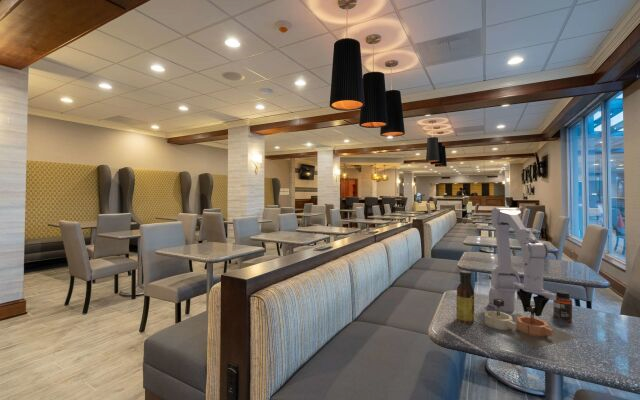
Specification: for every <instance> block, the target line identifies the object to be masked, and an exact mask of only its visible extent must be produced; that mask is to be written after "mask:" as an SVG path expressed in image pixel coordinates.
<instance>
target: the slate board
mask: <svg viewBox="0 0 640 400" xmlns="http://www.w3.org/2000/svg"><path fill="white" fill-rule="evenodd" d="M510 315H511V316H512V319H513V322H514V323H516V330H513V329H509V330H501V329H496V328H492V327H490V326H488V325H486V324H485V320H484V319H481V320H480V319H479V320H477V322H478V323H480V324H482V325H484V326H485V327H488V328H491V329H492V330H494V331H496V332H499V333H500V334H502V335H505V336H507V337H509V338H511V339H513V340H515V341H517V342H519V343H521V344H523V345H525V346H527V347H529V348H531V349H537V348H540V347H544V346H546V347H547V346H549V345H553V344H558V343H562V342H566V341H570V340H574V339H578V338H579V337H577V336H575V335H573V334H570V333H567V332H565V331H562V330H560V329H558V328H554V327H553V326H550V325H548V328H550V329H552V330H553V336H552V337H550V336H548V335H546V336H543V337H539V336H532V335H528V334H525V333H523V332H521V331H519V330H518V329H517V317H521V316H524V315H522V314H519V313H514V314H510Z"/></svg>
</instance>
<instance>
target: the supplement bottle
mask: <svg viewBox="0 0 640 400" xmlns="http://www.w3.org/2000/svg"><path fill="white" fill-rule="evenodd" d="M555 294H556V300H552V301H553V304H552V306H553V308H552V312H553V313H552V317H553V318H555V319H557V320H559V321H564V322H567V323H570V322H572V319H573V299H572V298H571V297H570V292H569V291H566V290H559V289H558V290H556V293H555Z"/></svg>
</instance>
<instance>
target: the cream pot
mask: <svg viewBox="0 0 640 400" xmlns="http://www.w3.org/2000/svg"><path fill="white" fill-rule="evenodd" d="M483 315H484V319H483V320H485V324H486V325H488V326H490V327H492V328H496V329H501V330H509V329H513V330H516V323H514V322H513V319H512V316H511V315H512V314H508V313H506V312H504V311H500V316H497V310H488V311H487V310H486V311H484V314H483ZM486 325H485V326H486ZM488 326H487V327H488ZM490 327H489V328H490ZM492 328H491V329H492Z"/></svg>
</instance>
